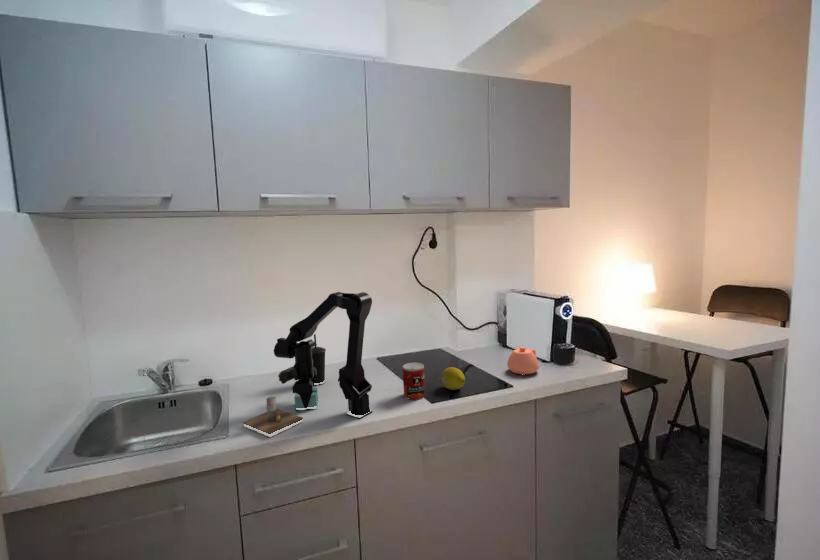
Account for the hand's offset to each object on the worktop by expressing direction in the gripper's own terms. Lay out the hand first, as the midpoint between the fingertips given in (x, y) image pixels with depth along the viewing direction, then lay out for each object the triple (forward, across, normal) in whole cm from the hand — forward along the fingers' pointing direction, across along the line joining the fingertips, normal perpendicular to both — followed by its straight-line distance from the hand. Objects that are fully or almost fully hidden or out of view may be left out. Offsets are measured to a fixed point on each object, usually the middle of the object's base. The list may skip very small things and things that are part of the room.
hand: (307, 403), depth 140 cm
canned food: (+1, +1, +38) cm, 38 cm away
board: (+1, +12, -9) cm, 15 cm away
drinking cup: (+1, -22, +2) cm, 22 cm away
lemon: (+1, -2, +52) cm, 52 cm away
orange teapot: (+1, -13, +85) cm, 86 cm away
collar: (+1, 0, 0) cm, 1 cm away
